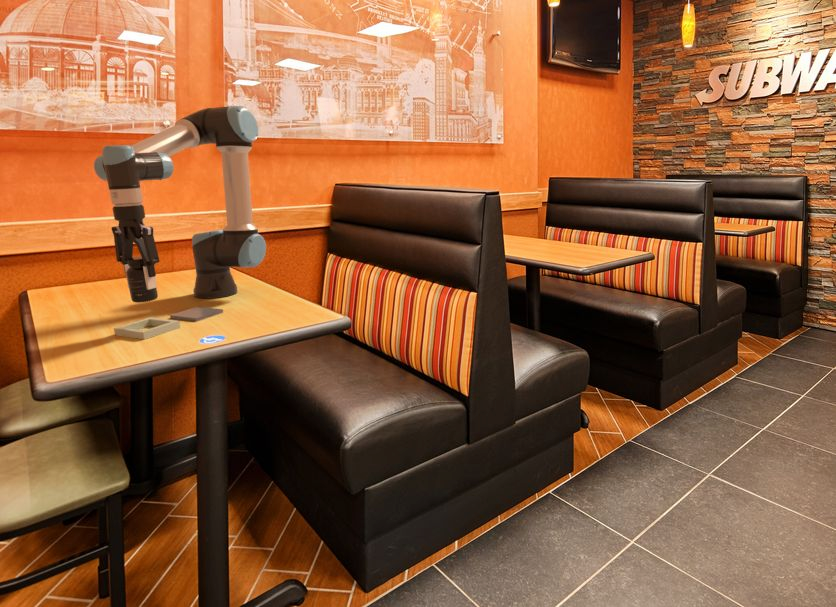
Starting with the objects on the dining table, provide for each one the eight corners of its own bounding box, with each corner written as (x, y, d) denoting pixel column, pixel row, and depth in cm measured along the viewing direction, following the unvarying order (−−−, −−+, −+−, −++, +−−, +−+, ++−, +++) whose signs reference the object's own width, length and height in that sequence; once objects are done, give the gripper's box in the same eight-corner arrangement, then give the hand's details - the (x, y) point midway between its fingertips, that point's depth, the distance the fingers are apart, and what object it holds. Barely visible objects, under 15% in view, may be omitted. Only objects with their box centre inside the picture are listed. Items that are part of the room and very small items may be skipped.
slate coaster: (170, 318, 168) (169, 315, 168) (197, 309, 178) (197, 306, 178) (196, 321, 164) (195, 318, 164) (223, 312, 174) (222, 309, 173)
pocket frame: (114, 335, 153) (113, 328, 152) (151, 323, 163) (150, 317, 163) (144, 339, 148) (143, 332, 147) (180, 327, 158) (179, 320, 158)
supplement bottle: (137, 297, 157) (129, 256, 153) (161, 295, 157) (154, 255, 154) (127, 303, 150) (119, 260, 147) (152, 302, 150) (145, 259, 147)
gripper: (90, 206, 147) (107, 288, 153) (141, 206, 139) (156, 293, 145) (115, 203, 154) (130, 282, 160) (165, 203, 146) (178, 286, 152)
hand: (142, 287), depth 153 cm, fingers closed on supplement bottle, 7 cm apart
